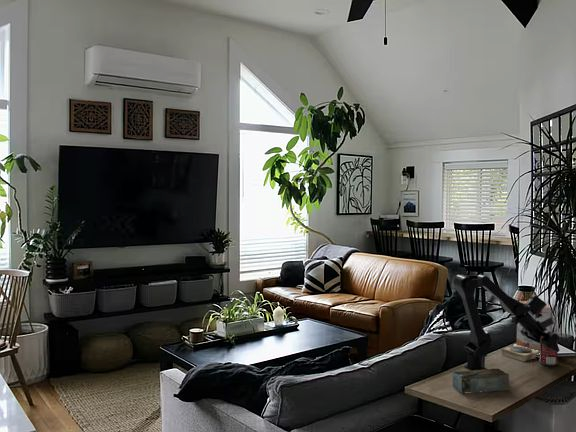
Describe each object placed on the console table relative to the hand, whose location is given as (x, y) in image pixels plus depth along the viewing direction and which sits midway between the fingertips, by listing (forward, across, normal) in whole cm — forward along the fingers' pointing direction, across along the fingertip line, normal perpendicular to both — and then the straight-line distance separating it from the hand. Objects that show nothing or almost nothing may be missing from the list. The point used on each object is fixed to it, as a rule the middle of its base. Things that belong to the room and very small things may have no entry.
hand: (551, 347), depth 236 cm
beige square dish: (0, +12, +9) cm, 15 cm away
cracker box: (+8, +19, +2) cm, 20 cm away
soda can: (+4, 0, +6) cm, 7 cm away
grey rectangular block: (-26, -20, +36) cm, 49 cm away
